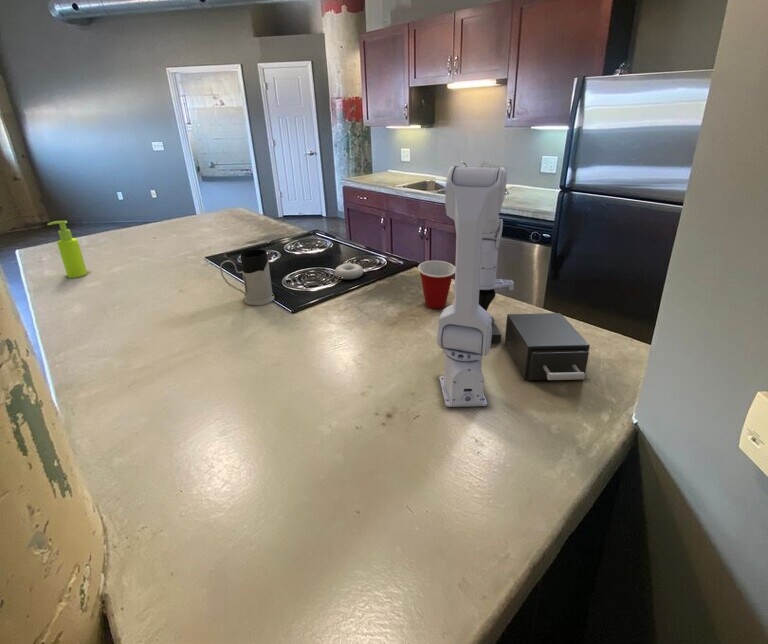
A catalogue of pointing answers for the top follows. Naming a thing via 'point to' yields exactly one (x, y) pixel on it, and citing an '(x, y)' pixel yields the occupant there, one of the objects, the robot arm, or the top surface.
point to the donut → (349, 271)
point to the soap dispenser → (70, 252)
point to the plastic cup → (436, 282)
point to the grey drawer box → (539, 336)
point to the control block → (495, 333)
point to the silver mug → (255, 277)
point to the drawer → (558, 364)
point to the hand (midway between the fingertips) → (480, 315)
